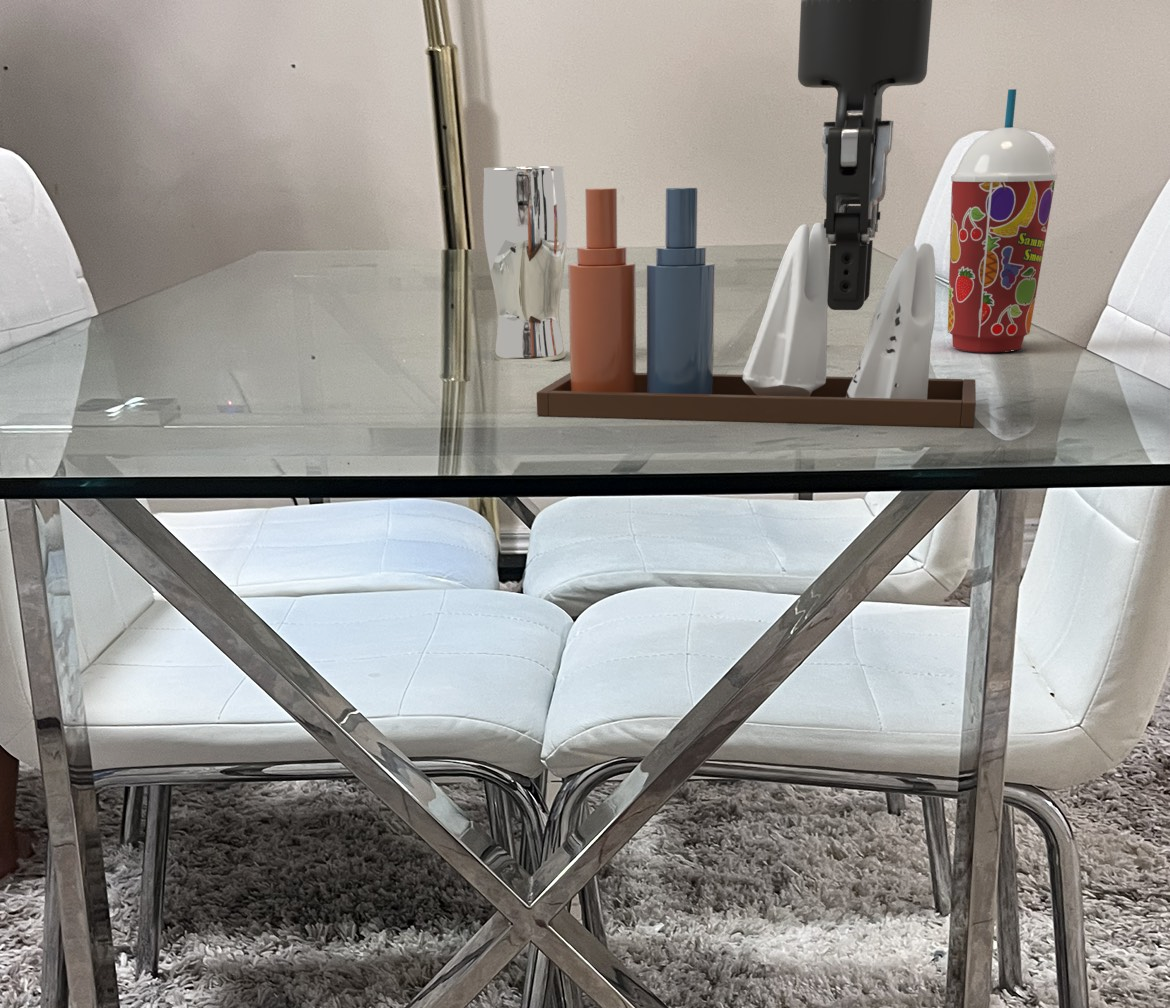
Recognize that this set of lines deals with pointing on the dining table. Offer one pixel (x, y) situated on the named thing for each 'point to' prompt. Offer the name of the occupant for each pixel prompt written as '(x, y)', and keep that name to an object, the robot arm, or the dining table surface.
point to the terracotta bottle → (602, 303)
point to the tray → (767, 404)
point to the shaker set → (799, 326)
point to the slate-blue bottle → (680, 304)
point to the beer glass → (526, 258)
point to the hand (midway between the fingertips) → (848, 303)
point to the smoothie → (998, 237)
